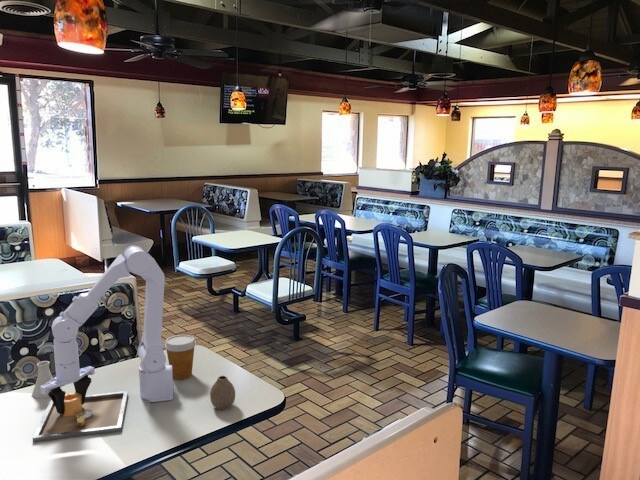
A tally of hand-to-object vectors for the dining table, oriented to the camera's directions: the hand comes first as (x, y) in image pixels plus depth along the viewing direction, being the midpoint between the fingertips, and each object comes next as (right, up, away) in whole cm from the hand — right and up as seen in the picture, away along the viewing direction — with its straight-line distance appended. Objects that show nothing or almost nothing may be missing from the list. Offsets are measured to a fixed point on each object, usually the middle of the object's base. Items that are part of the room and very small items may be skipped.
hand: (70, 408), depth 139 cm
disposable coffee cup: (+23, +2, +24) cm, 34 cm away
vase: (+40, -1, +5) cm, 40 cm away
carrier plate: (+5, -2, -2) cm, 6 cm away
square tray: (+5, -2, -2) cm, 6 cm away
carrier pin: (+6, -3, -7) cm, 10 cm away
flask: (-12, 0, +10) cm, 16 cm away
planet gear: (0, -1, 0) cm, 1 cm away
